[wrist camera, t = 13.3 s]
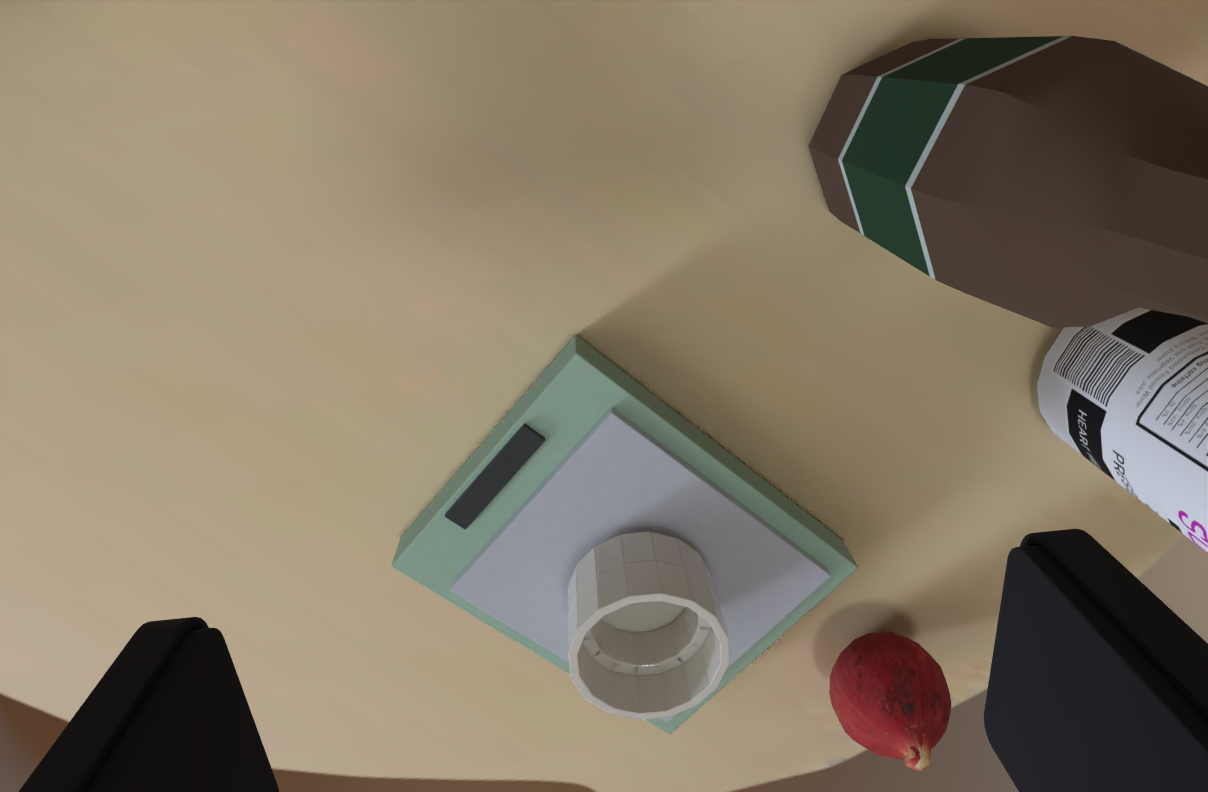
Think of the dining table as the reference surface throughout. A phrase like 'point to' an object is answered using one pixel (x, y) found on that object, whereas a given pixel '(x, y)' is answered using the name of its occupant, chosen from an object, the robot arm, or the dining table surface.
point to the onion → (891, 697)
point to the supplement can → (1137, 408)
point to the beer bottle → (1028, 173)
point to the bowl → (645, 627)
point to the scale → (613, 515)
